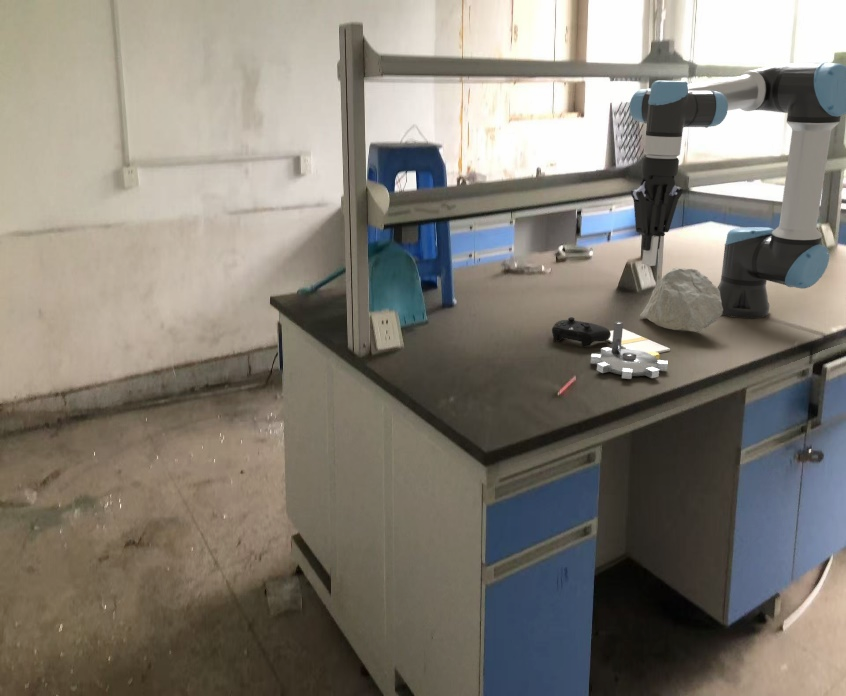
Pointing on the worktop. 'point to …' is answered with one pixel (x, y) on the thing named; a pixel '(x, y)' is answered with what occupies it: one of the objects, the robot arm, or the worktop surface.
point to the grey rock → (684, 301)
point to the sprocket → (627, 359)
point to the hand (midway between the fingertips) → (648, 264)
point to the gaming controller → (579, 331)
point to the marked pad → (639, 342)
